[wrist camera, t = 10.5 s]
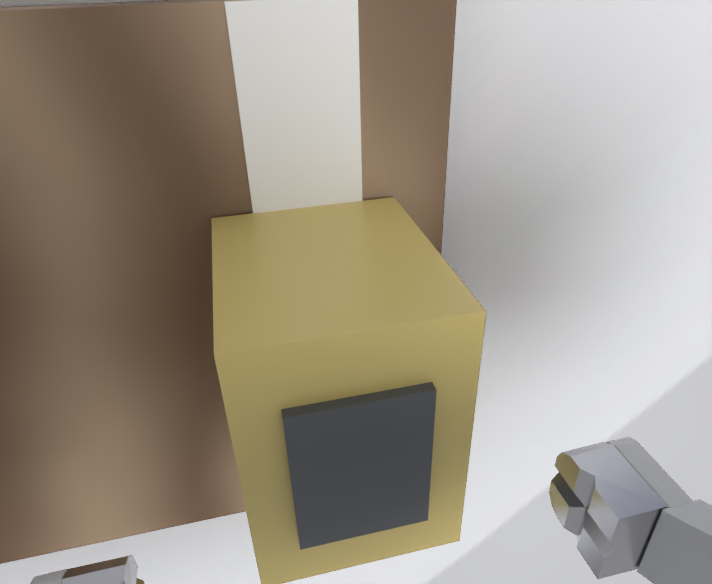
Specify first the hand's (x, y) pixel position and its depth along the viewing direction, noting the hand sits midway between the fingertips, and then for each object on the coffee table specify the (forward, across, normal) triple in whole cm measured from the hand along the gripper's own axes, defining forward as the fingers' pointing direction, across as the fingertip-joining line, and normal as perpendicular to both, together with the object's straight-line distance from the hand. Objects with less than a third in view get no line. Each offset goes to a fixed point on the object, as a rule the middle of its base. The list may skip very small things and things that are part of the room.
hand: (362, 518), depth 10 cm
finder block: (+7, 0, 0) cm, 7 cm away
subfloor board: (+9, +4, 0) cm, 10 cm away
